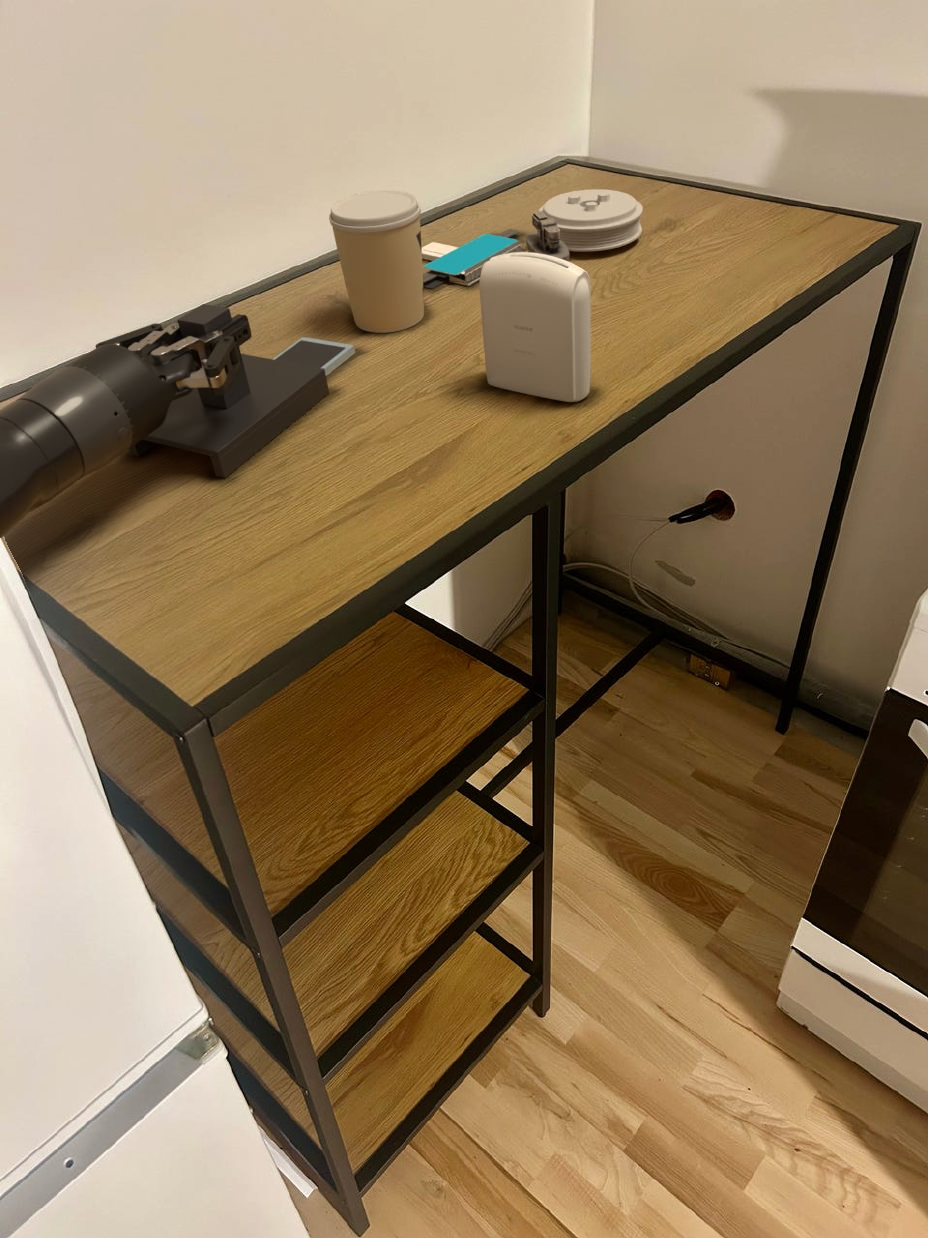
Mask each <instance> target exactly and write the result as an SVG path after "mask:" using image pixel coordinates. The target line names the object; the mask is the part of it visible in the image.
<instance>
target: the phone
mask: <svg viewBox="0 0 928 1238" xmlns="http://www.w3.org/2000/svg"><path fill="white" fill-rule="evenodd" d="M355 354H356V350H355V345H354V344H349V343H342V342H337V341H329V340H324V339H317V338H312V337H307V336H306V337H305V336H302V337H300V338H299V339H298V340H296V341H295V342H294V343H292V344H291V345H289V346H288V347H287V348H285V349H284V350H283V351H281V352H280V353H279V354H278V355H276V356H275V357H273V358H272V359H273V360H279V361H284V362H290V363H295V364H301V365H307V366H312V367H318V368H323V369H325V375H326V377H328V376H329V375H330V374H331V373H332V372H334V371H335V370H337V368H339V367H340V366H341V365H343V364H345V362H346V361H348V359H350V358H351V357H352V356H353V355H355Z"/></svg>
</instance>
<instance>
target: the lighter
mask: <svg viewBox="0 0 928 1238" xmlns="http://www.w3.org/2000/svg"><path fill="white" fill-rule="evenodd" d="M531 225H532V226H533V227H534V229H536V230H537V231H533V232H529V233H527V234H526V236H525V244H526V248H527V250H528V252H530V253H539V254H545V255H549V256H553V257H557V258H560V259H563V260H565V261H568V262H570V251H568V248H567V246H566V245H565V244H564V242H563V241H561V240H560V229H559V228H558V226H557V221H556V219H555V218H551V219H549V218H548V217H547V216H546V215H545V214H544V213H543V212H542V211H538V210H535V211H533V213H532V214H531Z"/></svg>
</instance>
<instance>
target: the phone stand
mask: <svg viewBox="0 0 928 1238" xmlns="http://www.w3.org/2000/svg"><path fill="white" fill-rule="evenodd" d="M518 232H519V230H518V229H513V228H508V229H507V230H505V231H503V232H501V233H499V234H497V235H494V234H490V233H485V234H482V235H480V236H478V237H476V238H474V239H473V240H470V241H468V242H466V243H465V244H463V245H461V246H459V247H458V246H454V245H449V244H444V243H439V242H435V241H431V242H430V243H428V244H426V245H424V246H421V248H422V260H427V261H430V262H428V263H426V264H425V265H423V269H425V270H427V272H426V273H423V289H424V288H426V289H430V290H433V289H435V288H437V287H439V286H440V285H443V284H444V283H446V282H447V283H452V284H457V285H460V286H464V287H472V286H473V285H475V284H477V283H478V282H479V283H480V275H481V271H482V268H483V265H484V263H485V262H487V261H489V260H490V259H491V258H492V257H495V256H498V255H502V254H507V253H515V252H528V249H523V248H522V246H523V243H522V240H521V239H519V240H518V239H516V238H517V237H520V234H516V233H518ZM428 270H429V271H428Z"/></svg>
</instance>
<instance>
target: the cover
mask: <svg viewBox="0 0 928 1238" xmlns="http://www.w3.org/2000/svg"><path fill="white" fill-rule="evenodd" d="M232 317H233V316H232V314H231V309H230V308H229V307H224V306H219V305H213V304H206V303H203V304H200V305H199V306H197V307H196V308H194V309H193V310H191V311H189V312H188V313H186V314H184V315H183V316H181V317H179V318H178V319H176V320H177V322H176V323H178V325H179V328H180V332H181V335H182V338H183V339H184V338H186V337H188V336H193V337H196V338H199V337H201V336H203V335H205V334H207V333H209V332H211V331H214V329H216V328H217V327H219V326H220V325H222V324H223V323H225V322H226V321H228V320H230V319H231V318H232ZM212 351H213V350H212V347H211V345H210V346H208V347H207V348H206V354H207V358H208V357H209V356H210V355H211V353H212ZM189 352H190V350H189ZM237 352H238V355H239V359H240V363H241V366H240V368H239V370H238V371H237V373H236V375H235V377H234V379H233V380H232V382H231V384H230V386H229V388H228V390H227V391H226V393H225V394H224V395H222V396H217V397H215V396H212V395H211V392H210V388H209V387H207V388H193V390H192V391H191V393H189V394H188V395H186V396H183V397H180V398H178V399H175V400H173V401H172V402H171V403H170V406H169V408H168V412H167V415H166V418H165V421H164V422H163V424H162V425H161V426H160V427H159V428H158V429H156V430H155V431H153V432H152V433H151V434H149V435H148V436H146V437H145V438H144V439H142V440H141V441H139V442H138V443H137V444H135V445H134V446H132V447H131V448H130V449H128V450H129V453H130V455H132V456H135V457H140V456H141V455H143V454H144V453H145V452H147V451H148V450H150V449H151V448H152V447H154V446H155V445H156V444H160V445H163V446H167V447H171V448H176V449H181V450H184V451H187V452H193V453H197V454H200V455H203V456H204V455H205V456H208V457H210V460H211V463H212V466H213V471H214V473H215V476H216V477H219V478H222V479H226V478H227V477H229V476H230V475H231V474H232V473H233V472H235V471H236V470H237V469H238V468H239V467H241V466H242V465H243V464H245V462H247V461H248V460H249V459H250V458H252V457H253V456H254V455H256V454H257V453H258V452H259V451H260V450H262V449H263V448H264V447H265V446H267V445H268V444H269V443H270V442H271V441H273V440H274V439H275V438H276V437H277V436H279V435H280V434H281V433H282V432H284V431H285V430H286V429H288V427H290V426H291V425H292V424H294V423H295V422H296V421H297V420H298V419H300V418H301V417H302V416H303V415H304V414H306V413H307V412H308V411H309V410H310V409H312V408H313V407H315V406H316V405H317V404H318V403H319V402H320V401H322V400H323V399H324V398H325V397H326V396H328V395H329V394H330V391H329V386H328V380H327V376H326V375H325V369H323V368H318V367H312V366H307V365H301V364H295V363H290V362H284V361H279V360H273V358H266V357H262V356H256V355H251V354H245V353H242V352H241V348H240V346H239V347H237Z"/></svg>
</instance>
